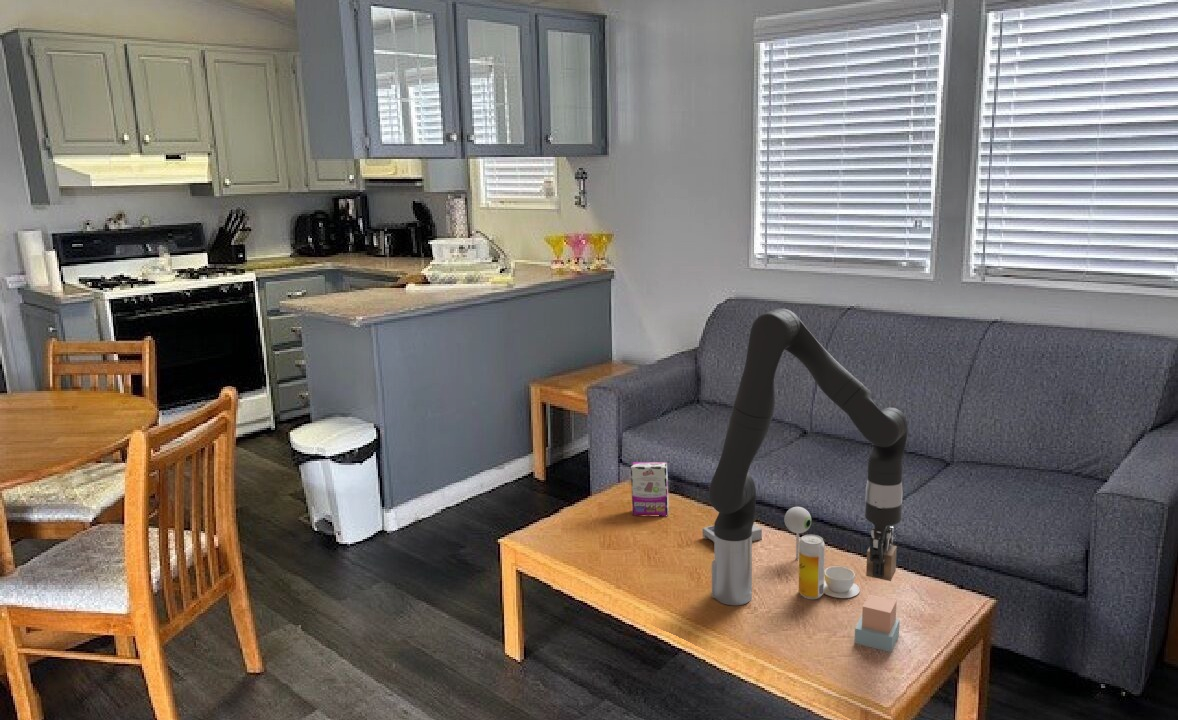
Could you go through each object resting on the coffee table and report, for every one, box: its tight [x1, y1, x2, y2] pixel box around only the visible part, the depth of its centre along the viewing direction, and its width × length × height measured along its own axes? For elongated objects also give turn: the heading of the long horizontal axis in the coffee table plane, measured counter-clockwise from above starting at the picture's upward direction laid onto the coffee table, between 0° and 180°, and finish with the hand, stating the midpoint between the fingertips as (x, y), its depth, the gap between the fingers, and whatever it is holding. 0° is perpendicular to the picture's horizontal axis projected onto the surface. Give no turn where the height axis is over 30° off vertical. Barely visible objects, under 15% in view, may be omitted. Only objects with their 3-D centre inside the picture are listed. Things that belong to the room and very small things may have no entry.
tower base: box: [854, 614, 900, 653], centre depth 187 cm, size 8×8×4 cm
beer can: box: [798, 534, 826, 600], centre depth 206 cm, size 6×6×15 cm
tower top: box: [861, 594, 897, 633], centre depth 186 cm, size 6×6×5 cm
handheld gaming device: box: [702, 523, 763, 543], centre depth 240 cm, size 9×15×4 cm, turn 113°
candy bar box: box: [630, 461, 670, 517], centre depth 259 cm, size 11×5×16 cm, turn 81°
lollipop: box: [783, 506, 812, 560], centre depth 225 cm, size 7×7×15 cm
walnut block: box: [865, 544, 898, 582], centre depth 183 cm, size 5×5×6 cm
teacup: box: [823, 565, 861, 599], centre depth 209 cm, size 10×10×5 cm
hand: (881, 570), depth 184 cm, fingers closed on walnut block, 5 cm apart
